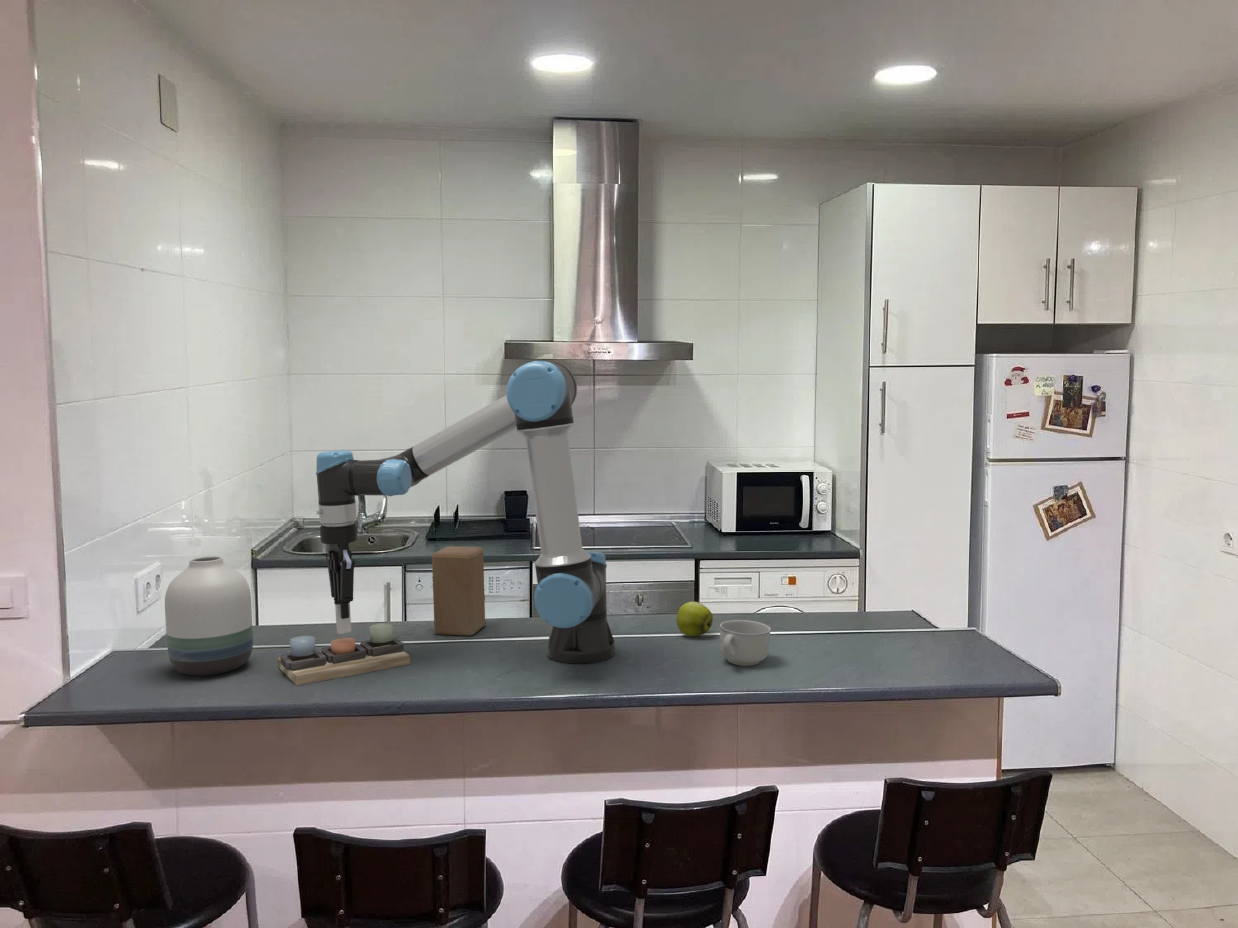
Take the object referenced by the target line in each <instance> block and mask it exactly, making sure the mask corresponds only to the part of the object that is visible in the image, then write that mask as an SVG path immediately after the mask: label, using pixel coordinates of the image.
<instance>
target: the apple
mask: <svg viewBox="0 0 1238 928" xmlns="http://www.w3.org/2000/svg"><path fill="white" fill-rule="evenodd" d="M713 620H714V616H713V613H712V611H711V610H710V609H709V608H708V607H706V605H704V604H703V603H702V602H698V601H689V602H686V603H684V604H683V605H681V606H680V607H679V609H678V611H677V614H676V625H677V628H678V630H679V631H680V632H681V633H682V634H683V635H686V636H688V637H699V636H703V635H705V634H706V633H707V632H709V630H710V629H711V627H712V625H713Z"/></svg>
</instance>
